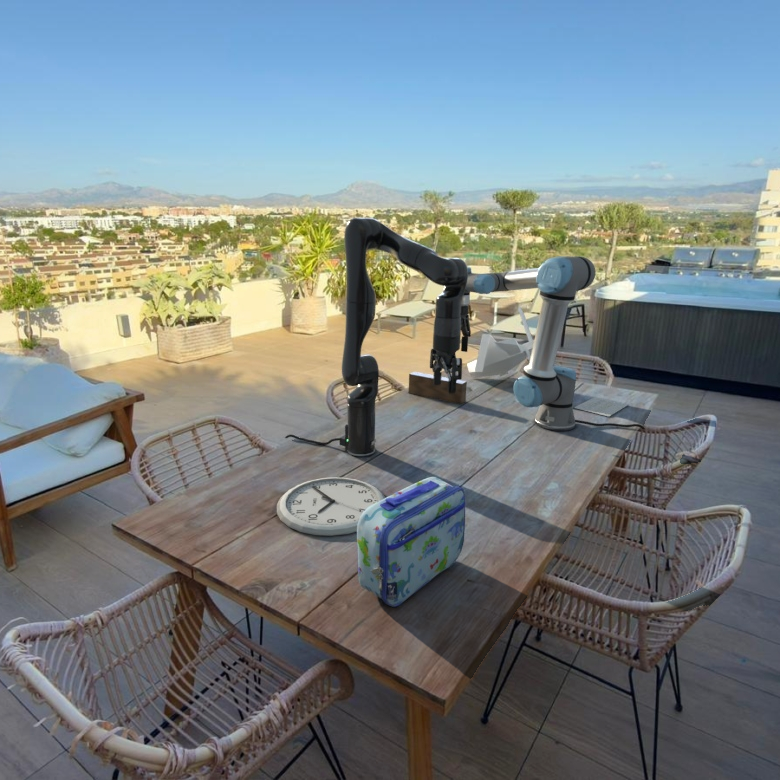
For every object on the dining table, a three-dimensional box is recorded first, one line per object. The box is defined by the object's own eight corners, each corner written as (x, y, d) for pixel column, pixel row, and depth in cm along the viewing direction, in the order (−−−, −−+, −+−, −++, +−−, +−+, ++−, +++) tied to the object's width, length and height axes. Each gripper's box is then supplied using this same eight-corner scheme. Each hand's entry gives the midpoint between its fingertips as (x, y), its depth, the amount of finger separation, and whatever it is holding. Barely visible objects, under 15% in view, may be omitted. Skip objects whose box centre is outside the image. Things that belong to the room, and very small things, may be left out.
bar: (465, 401, 230) (466, 381, 228) (460, 404, 227) (462, 383, 224) (413, 390, 244) (414, 371, 242) (408, 393, 240) (409, 373, 238)
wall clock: (392, 527, 129) (268, 531, 127) (391, 533, 130) (269, 537, 127) (383, 473, 158) (282, 475, 155) (383, 478, 158) (282, 480, 156)
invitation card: (608, 416, 214) (573, 407, 224) (608, 416, 214) (573, 408, 224) (628, 404, 229) (594, 396, 238) (628, 405, 229) (594, 397, 238)
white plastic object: (488, 419, 265) (468, 396, 240) (469, 347, 287) (449, 319, 262) (559, 395, 253) (546, 369, 228) (534, 321, 275) (519, 290, 250)
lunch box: (386, 620, 101) (388, 525, 95) (350, 593, 108) (349, 503, 102) (468, 563, 119) (474, 480, 112) (432, 543, 126) (436, 464, 120)
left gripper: (423, 328, 149) (421, 383, 154) (447, 338, 137) (444, 397, 141) (446, 327, 152) (443, 380, 157) (472, 336, 139) (468, 394, 144)
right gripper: (464, 300, 230) (462, 347, 236) (437, 307, 210) (435, 358, 216) (480, 302, 226) (477, 350, 232) (454, 309, 206) (451, 361, 212)
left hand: (444, 388), depth 149 cm, fingers open, 8 cm apart
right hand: (457, 354), depth 224 cm, fingers open, 13 cm apart
